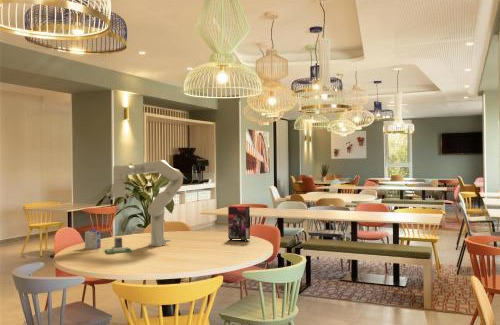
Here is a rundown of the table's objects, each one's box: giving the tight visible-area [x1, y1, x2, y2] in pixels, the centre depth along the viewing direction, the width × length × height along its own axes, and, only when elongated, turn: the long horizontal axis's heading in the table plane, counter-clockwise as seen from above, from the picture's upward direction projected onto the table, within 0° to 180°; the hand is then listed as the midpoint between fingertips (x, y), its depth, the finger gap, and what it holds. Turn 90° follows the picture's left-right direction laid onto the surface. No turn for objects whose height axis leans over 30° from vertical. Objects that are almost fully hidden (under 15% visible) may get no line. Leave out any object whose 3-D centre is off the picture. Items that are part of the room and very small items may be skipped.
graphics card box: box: [227, 205, 251, 240], centre depth 356 cm, size 17×7×27 cm, turn 58°
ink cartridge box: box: [84, 227, 102, 250], centre depth 323 cm, size 10×6×14 cm, turn 78°
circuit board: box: [104, 245, 133, 255], centre depth 310 cm, size 16×13×3 cm
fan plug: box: [114, 236, 123, 248], centre depth 308 cm, size 4×9×8 cm, turn 27°
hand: (118, 204), depth 338 cm, fingers open, 9 cm apart
